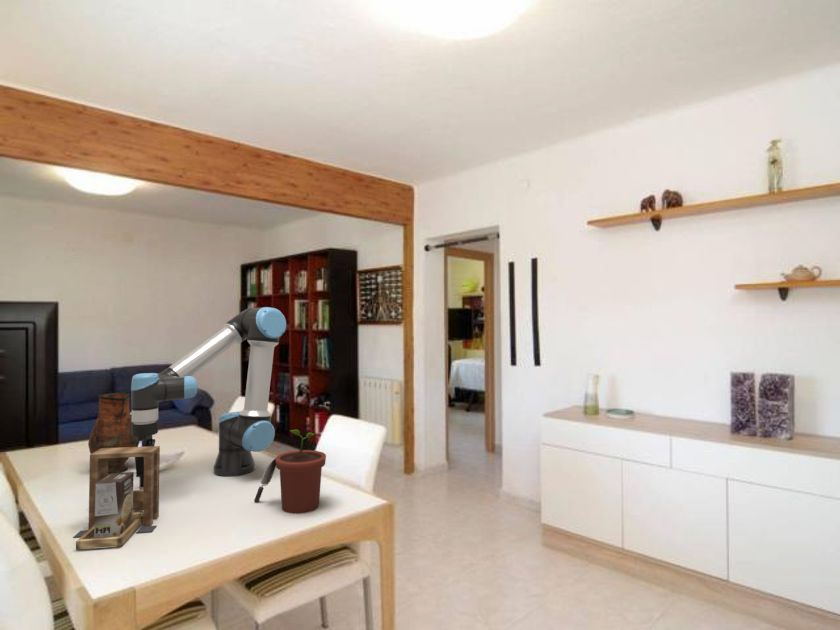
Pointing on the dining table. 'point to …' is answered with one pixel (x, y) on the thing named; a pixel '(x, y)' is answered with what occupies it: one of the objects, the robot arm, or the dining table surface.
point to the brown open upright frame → (150, 477)
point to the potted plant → (297, 478)
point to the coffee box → (113, 504)
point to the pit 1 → (80, 534)
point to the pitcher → (113, 428)
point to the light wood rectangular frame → (88, 542)
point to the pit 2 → (146, 529)
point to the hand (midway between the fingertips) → (144, 495)
